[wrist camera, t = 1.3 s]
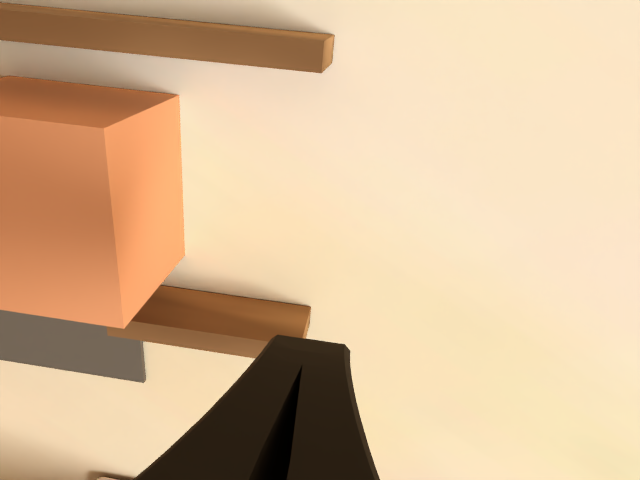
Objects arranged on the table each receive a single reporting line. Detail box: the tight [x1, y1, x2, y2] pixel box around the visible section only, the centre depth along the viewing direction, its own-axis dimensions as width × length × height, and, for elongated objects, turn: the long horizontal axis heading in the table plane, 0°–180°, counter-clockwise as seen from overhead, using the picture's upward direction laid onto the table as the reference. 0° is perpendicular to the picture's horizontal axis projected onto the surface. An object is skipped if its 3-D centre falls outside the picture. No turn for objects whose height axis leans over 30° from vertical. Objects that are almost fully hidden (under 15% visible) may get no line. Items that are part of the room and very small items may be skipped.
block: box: [0, 76, 185, 329], centre depth 16 cm, size 6×6×5 cm
